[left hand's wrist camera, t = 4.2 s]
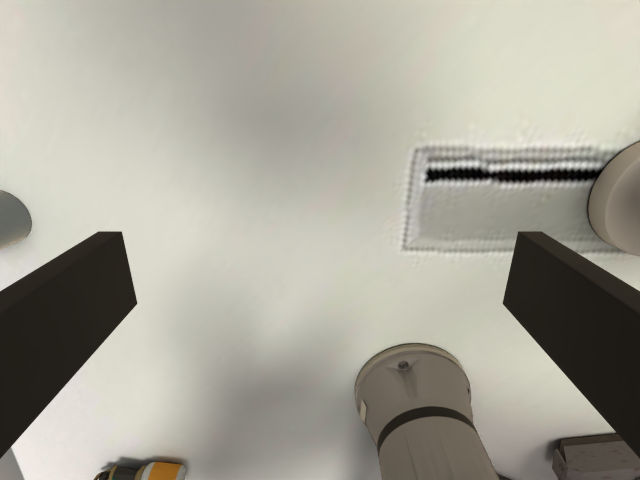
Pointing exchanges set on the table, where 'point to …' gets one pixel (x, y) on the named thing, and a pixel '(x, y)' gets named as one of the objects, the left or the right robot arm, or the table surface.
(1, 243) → the bottle
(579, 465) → the toy
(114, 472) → the spray gun
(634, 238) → the bust sculpture
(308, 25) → the table surface
